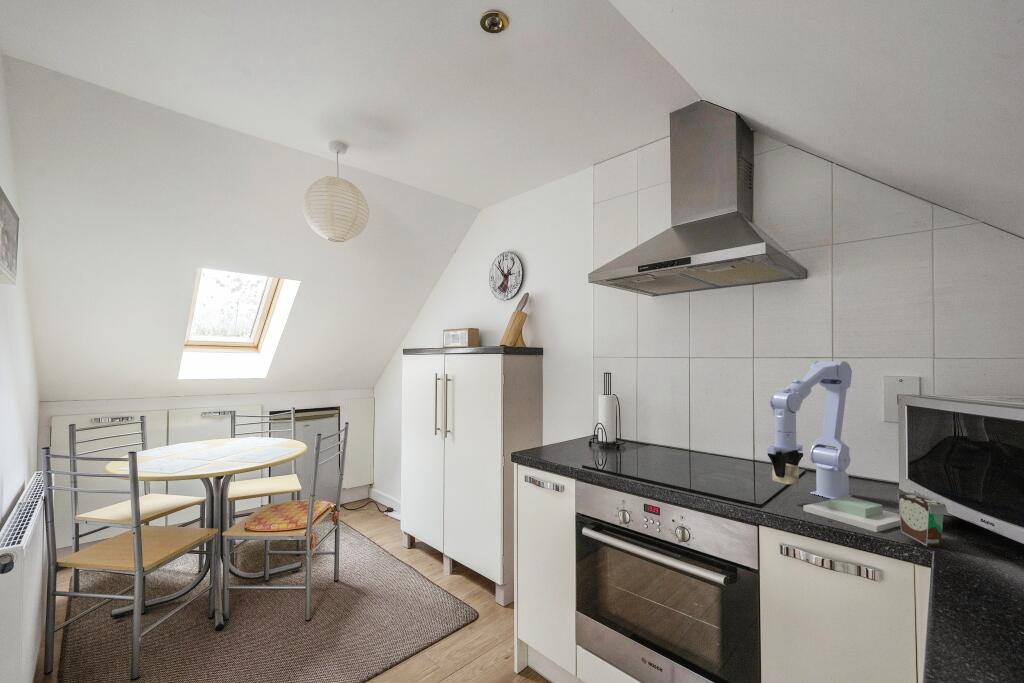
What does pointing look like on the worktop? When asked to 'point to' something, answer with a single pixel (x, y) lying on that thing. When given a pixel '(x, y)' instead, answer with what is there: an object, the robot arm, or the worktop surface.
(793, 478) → the maple cube
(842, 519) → the base board
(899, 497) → the food container
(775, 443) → the robot arm
